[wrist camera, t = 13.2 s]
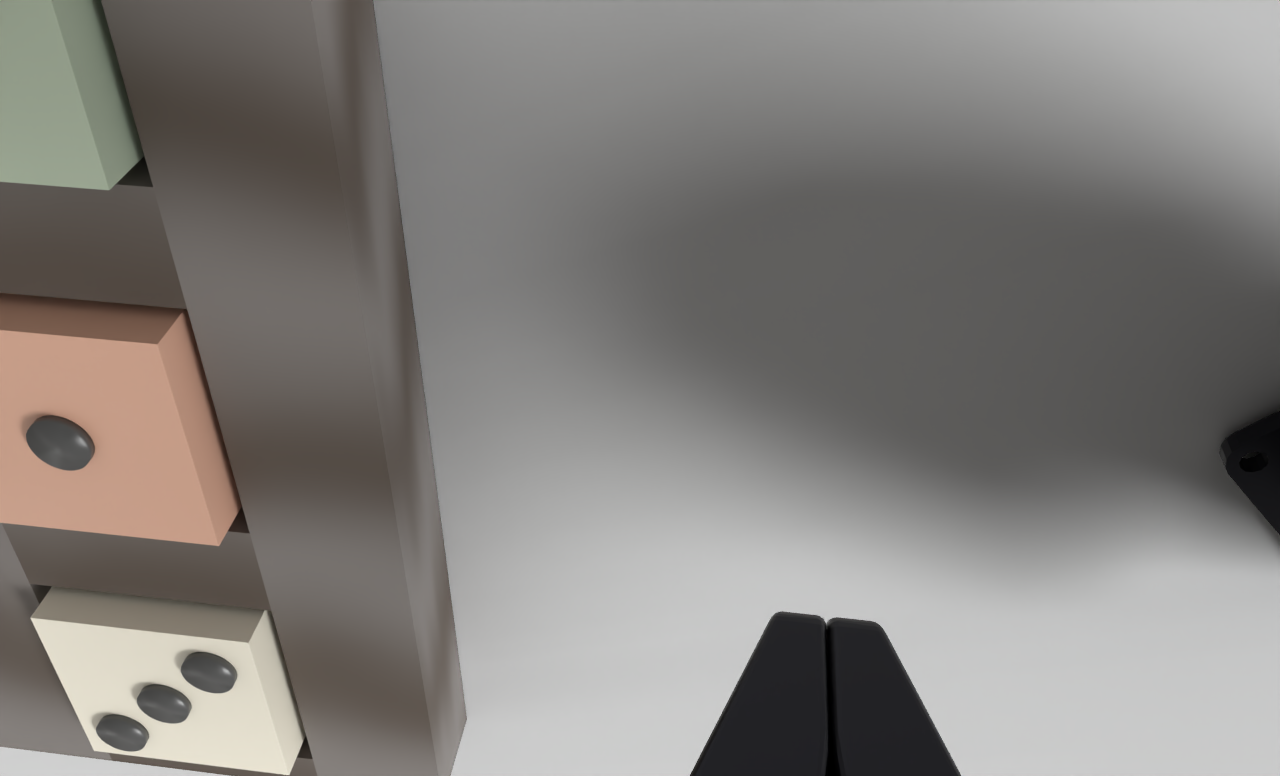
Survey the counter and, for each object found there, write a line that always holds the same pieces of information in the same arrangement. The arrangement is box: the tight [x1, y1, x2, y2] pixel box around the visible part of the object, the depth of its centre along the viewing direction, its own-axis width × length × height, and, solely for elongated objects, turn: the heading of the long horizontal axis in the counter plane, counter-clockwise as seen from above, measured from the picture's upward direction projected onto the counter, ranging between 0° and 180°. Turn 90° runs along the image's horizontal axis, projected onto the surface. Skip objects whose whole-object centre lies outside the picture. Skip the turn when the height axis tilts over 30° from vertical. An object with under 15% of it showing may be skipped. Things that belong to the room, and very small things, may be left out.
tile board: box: [0, 0, 467, 776], centre depth 23 cm, size 24×12×2 cm, turn 179°
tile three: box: [30, 586, 306, 775], centre depth 28 cm, size 5×5×3 cm
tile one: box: [0, 293, 242, 546], centre depth 23 cm, size 5×5×3 cm
